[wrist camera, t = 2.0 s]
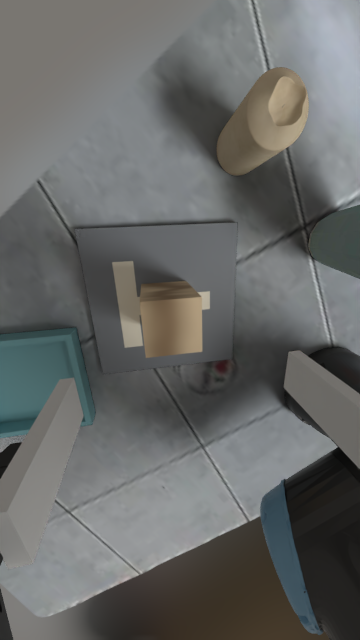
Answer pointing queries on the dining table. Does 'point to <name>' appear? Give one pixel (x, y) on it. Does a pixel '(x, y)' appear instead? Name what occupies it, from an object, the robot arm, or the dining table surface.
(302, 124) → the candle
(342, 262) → the disposable coffee cup
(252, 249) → the dining table surface
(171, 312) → the wooden block
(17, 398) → the tray
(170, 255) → the board
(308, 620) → the robot arm
